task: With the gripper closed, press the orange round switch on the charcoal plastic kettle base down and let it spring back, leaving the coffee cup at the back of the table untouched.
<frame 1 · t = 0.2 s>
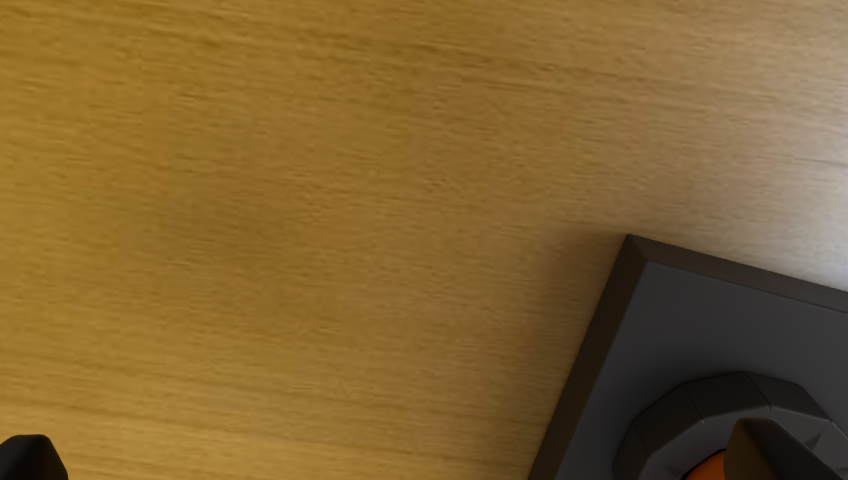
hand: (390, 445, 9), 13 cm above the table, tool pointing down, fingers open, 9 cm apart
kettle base: (699, 425, 24), on the table
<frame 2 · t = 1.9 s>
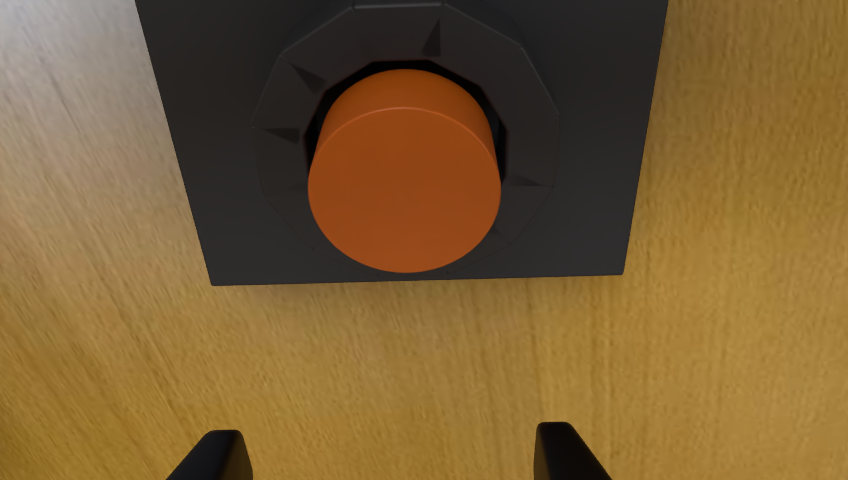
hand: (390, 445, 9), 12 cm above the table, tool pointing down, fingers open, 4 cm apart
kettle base: (409, 89, 19), on the table
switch: (405, 172, 15), point 5 cm above the table, slide at 0.2 cm
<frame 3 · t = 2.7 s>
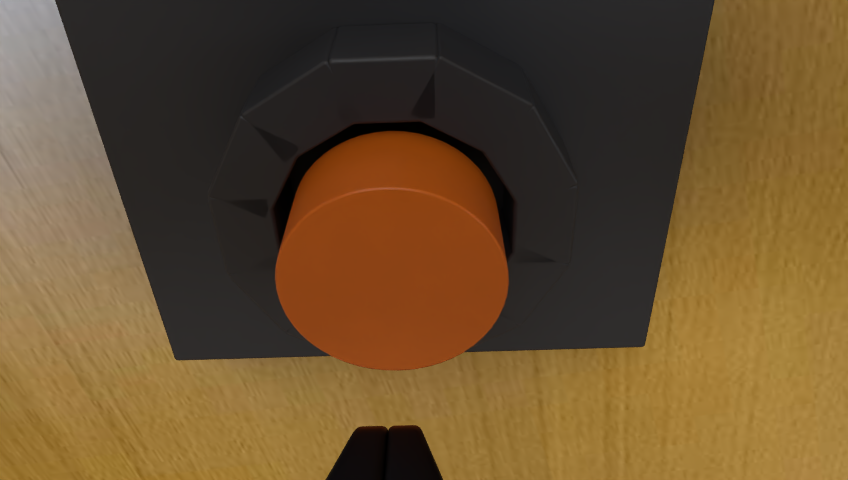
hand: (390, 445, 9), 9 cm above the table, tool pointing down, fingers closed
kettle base: (400, 138, 16), on the table
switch: (394, 253, 13), point 5 cm above the table, slide at 0.2 cm
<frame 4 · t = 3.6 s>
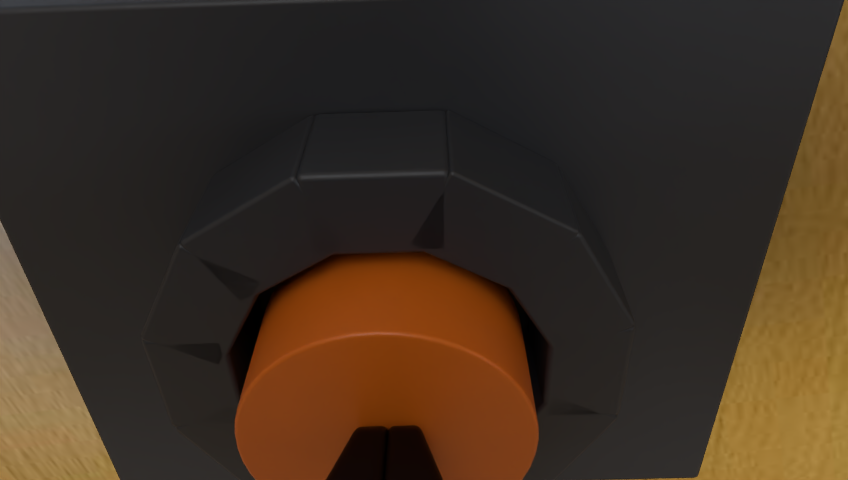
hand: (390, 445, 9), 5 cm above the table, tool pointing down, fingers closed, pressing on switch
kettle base: (398, 228, 13), on the table
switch: (390, 388, 10), point 4 cm above the table, slide at -0.4 cm, touching gripper
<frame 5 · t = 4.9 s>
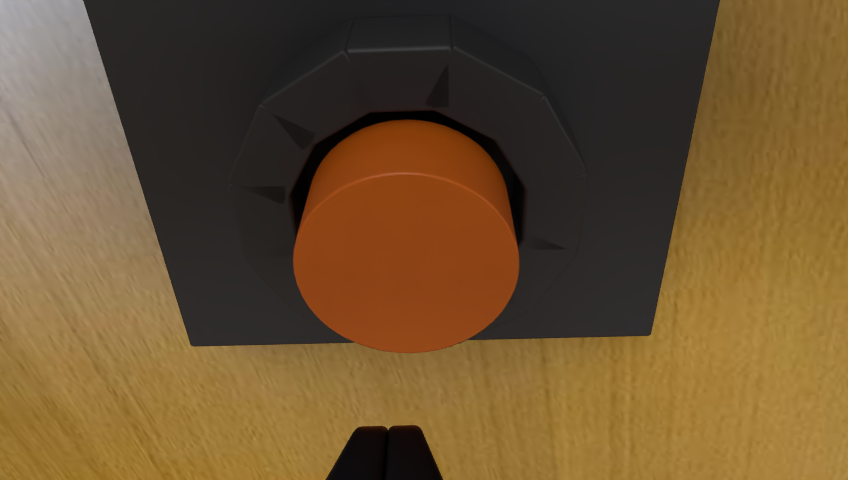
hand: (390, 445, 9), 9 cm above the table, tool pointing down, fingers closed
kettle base: (412, 129, 17), on the table
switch: (407, 238, 13), point 5 cm above the table, slide at 0.2 cm
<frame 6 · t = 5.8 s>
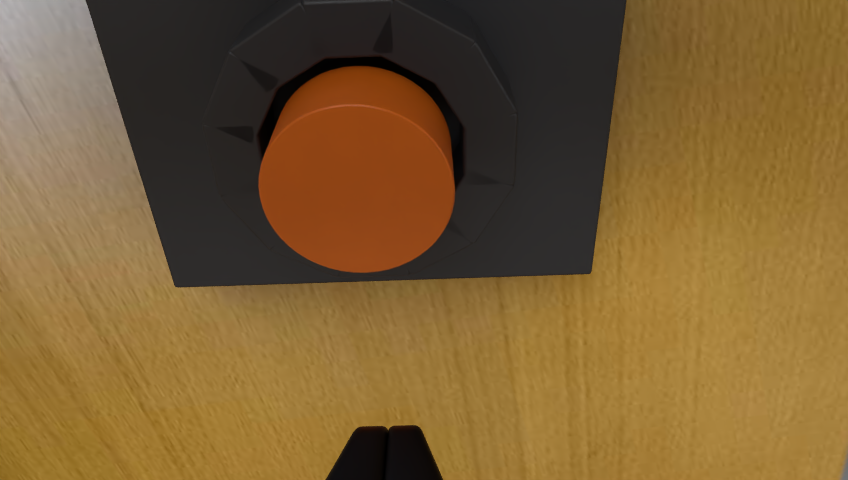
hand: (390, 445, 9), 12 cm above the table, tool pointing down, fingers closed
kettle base: (372, 87, 19), on the table
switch: (360, 171, 15), point 5 cm above the table, slide at 0.2 cm
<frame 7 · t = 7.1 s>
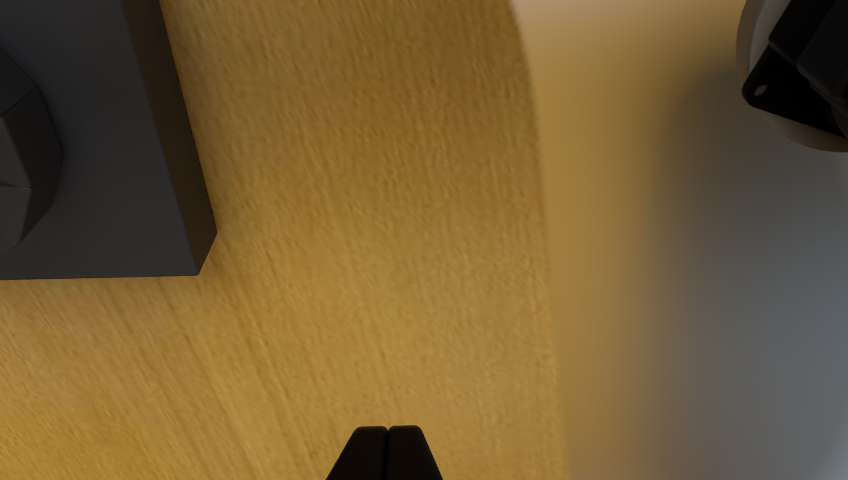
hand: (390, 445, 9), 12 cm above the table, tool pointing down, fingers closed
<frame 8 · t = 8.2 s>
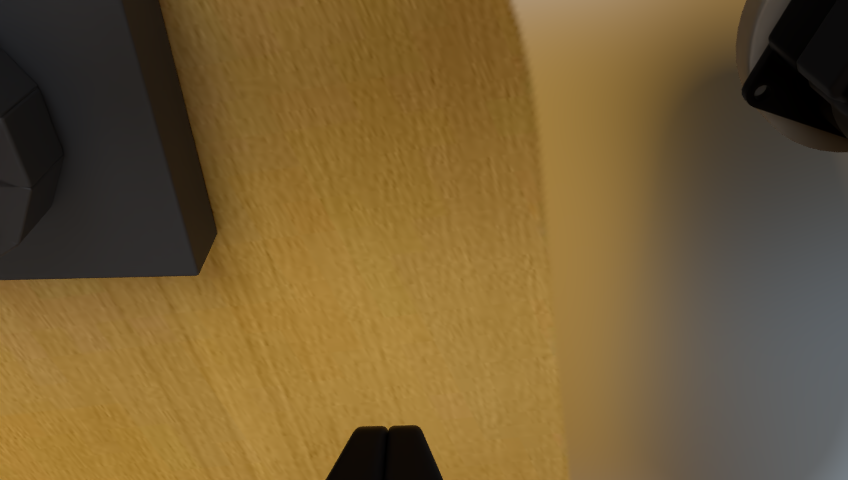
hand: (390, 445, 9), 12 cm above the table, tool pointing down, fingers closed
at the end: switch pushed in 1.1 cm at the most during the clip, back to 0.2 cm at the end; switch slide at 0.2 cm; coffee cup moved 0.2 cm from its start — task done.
